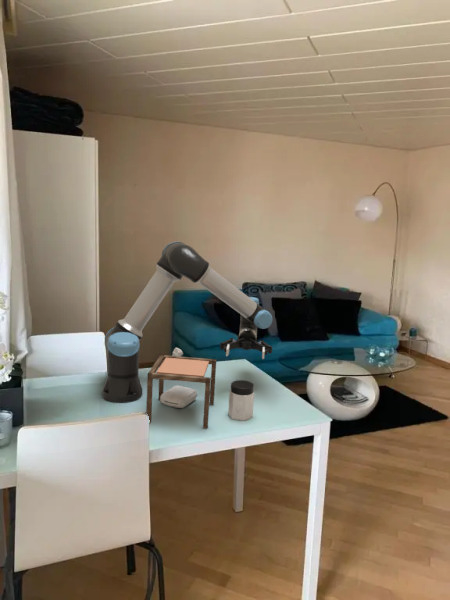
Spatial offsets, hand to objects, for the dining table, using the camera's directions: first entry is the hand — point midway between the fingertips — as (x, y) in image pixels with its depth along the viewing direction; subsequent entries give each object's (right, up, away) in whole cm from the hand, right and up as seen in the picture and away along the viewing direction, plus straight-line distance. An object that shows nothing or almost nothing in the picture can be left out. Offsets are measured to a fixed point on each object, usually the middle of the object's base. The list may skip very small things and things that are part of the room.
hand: (245, 354), depth 180 cm
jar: (-2, -22, -7) cm, 23 cm away
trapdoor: (-22, -4, -10) cm, 25 cm away
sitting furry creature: (-30, -12, +32) cm, 45 cm away
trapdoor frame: (-23, -20, -7) cm, 32 cm away
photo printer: (-23, -15, +7) cm, 28 cm away
